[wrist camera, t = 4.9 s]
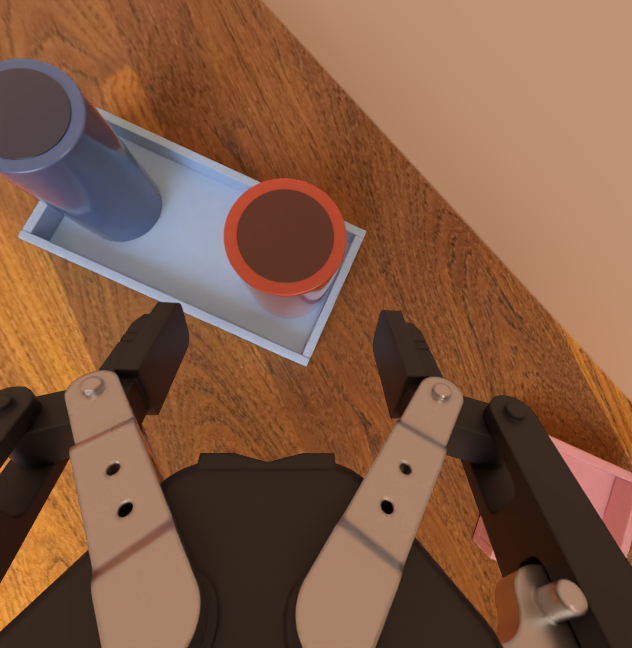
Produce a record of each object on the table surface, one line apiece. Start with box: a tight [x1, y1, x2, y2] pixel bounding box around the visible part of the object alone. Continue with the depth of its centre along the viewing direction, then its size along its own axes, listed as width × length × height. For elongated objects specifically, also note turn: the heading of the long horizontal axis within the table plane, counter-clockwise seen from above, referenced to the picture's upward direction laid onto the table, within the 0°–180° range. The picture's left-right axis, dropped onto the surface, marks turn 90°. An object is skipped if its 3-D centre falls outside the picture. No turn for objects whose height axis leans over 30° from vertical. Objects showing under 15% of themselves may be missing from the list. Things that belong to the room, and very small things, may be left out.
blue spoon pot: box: [0, 58, 162, 242], centre depth 17 cm, size 6×6×8 cm
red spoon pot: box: [223, 178, 347, 319], centre depth 18 cm, size 6×6×8 cm
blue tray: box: [18, 108, 366, 366], centre depth 21 cm, size 10×20×2 cm, turn 66°
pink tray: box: [472, 435, 632, 561], centre depth 21 cm, size 9×9×2 cm
